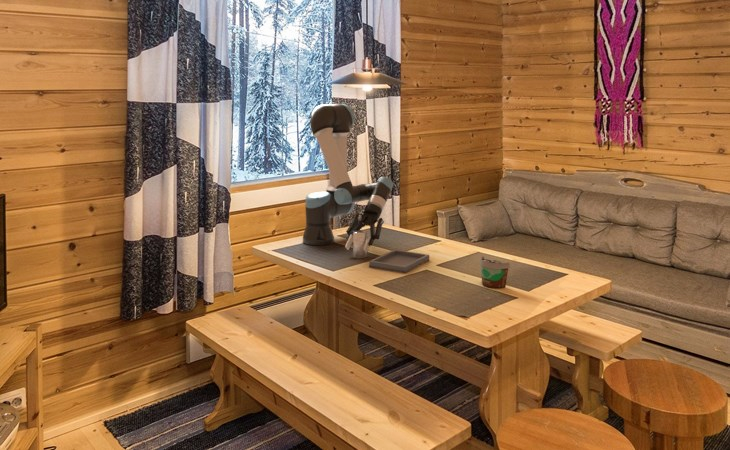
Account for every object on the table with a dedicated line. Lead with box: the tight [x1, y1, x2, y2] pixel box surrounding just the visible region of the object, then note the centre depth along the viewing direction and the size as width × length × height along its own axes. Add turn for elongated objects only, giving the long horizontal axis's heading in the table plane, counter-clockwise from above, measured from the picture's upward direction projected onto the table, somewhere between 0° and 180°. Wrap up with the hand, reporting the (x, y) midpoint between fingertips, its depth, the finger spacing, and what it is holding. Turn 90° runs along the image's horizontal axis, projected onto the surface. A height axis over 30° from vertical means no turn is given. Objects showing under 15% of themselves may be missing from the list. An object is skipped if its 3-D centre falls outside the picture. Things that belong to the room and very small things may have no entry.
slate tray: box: [368, 249, 430, 274], centre depth 266 cm, size 17×22×2 cm
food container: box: [478, 256, 511, 290], centre depth 235 cm, size 12×6×10 cm, turn 44°
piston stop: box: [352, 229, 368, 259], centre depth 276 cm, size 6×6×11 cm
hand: (355, 249), depth 274 cm, fingers open, 9 cm apart
